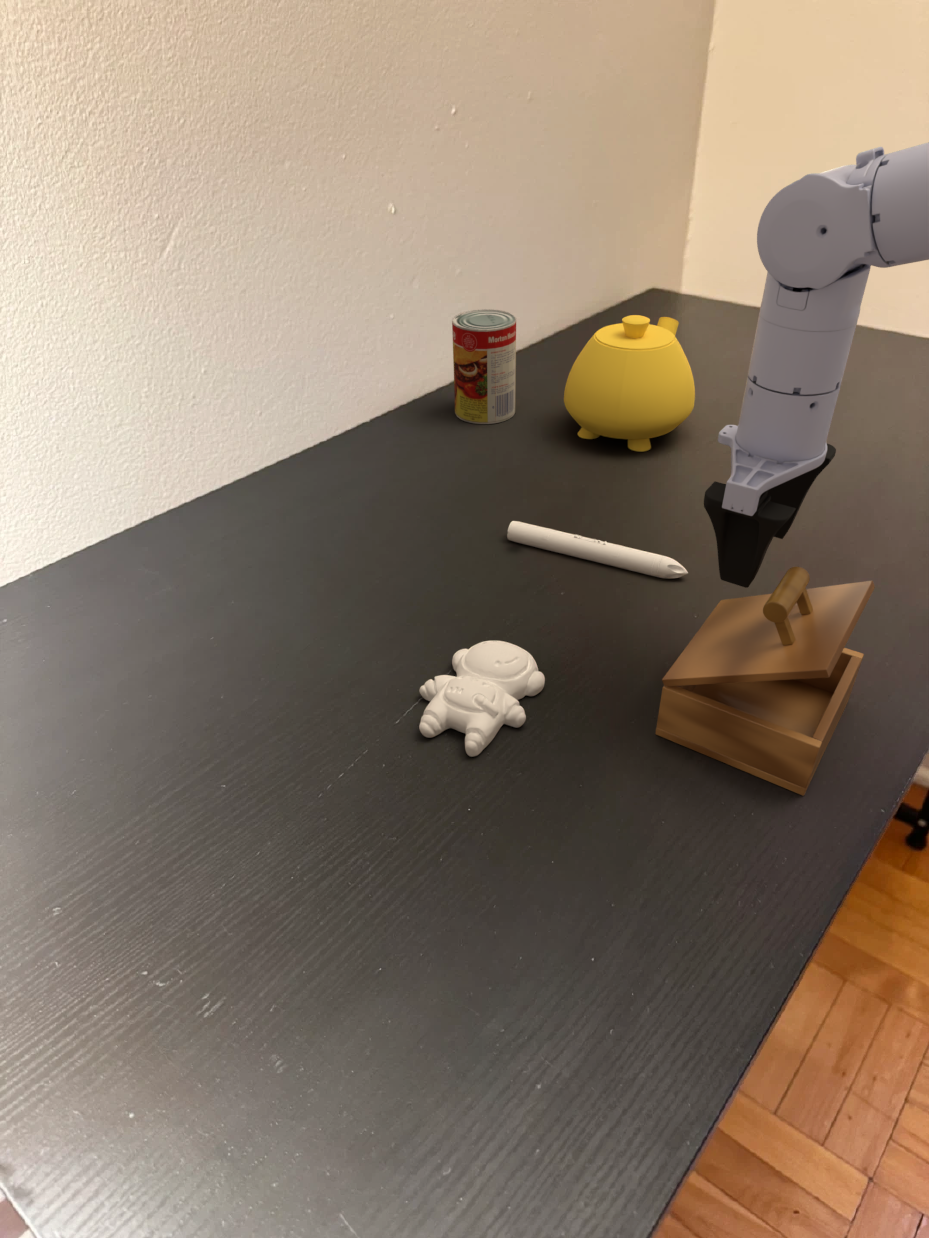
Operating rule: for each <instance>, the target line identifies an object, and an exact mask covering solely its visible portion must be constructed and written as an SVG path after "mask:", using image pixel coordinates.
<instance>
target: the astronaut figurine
mask: <svg viewBox="0 0 929 1238" xmlns="http://www.w3.org/2000/svg"><path fill="white" fill-rule="evenodd" d="M451 664H452V669H453V671H454V672H455V673H456V675H455V676H454V675H450V674H449V675H448V674H440V675H435V676H434V680H433V679H432V678H430V679H427V680H426V681H425V682H424V684H423V685H421V686H420V687H419V689H418V690H419V694H420V696H421V697H422V699H424V700H425V701H428V702H429V703H428V704H427V705H426V707H425V709H424V711H423V713H422V715H421V718H420V722H419V725H418V727H419V731H420V733H421V735H422V736H423V737H425V738H434V737H436V736H438V735H440V734H442V733H444V731H446V730H448V729H452V730H455V731H457V732H460V733H463V734H465V736H464V750H465V753H466V754H467V756H469V757H471V758H472V757H477V756H479V755H480V754H481V753H482V752H483V750H485V748H487V747H488V746H489V745H490V744H491V742H492V741H493V740H494V738H495V737H496V736H497V734H498V733H499V731H500V730H501V728H502V726H503V725H506V726H509V727H513V728H517V729H518V728H521V727H522V726H523V725H525V723H526V721H527V715H526V712H525V709H524V708H523V706H521V705H520V701H519V700H521V699H523V698H524V697H525V696H528V697H534V696H536V695H538V694H539V693H541V692H542V691H543V689H544V687H545V684H546V677H545V675H544V673H543V672H542V671H539V668H538V667H539V666H538V665H537V662H536V660H535V658H534V657H533V655H532V654H531V653H530V652H529V651H527V650H526V649H524V648H523V647H520V646H518V645H516V644H513V643H511V642H509V641H508V642H507V641H503V640H485V641H480V642H478V643H476V644H474V645H472V646H470V648H461V649H459V650H457V651H456V652H455V653H454V654H453V656H452V659H451Z"/></svg>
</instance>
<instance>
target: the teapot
mask: <svg viewBox="0 0 929 1238" xmlns="http://www.w3.org/2000/svg"><path fill="white" fill-rule="evenodd" d="M621 321H622V322H621V323H614V324H609V325H605V326H603V327H601V328H599V329H598V330H596V332H595V333H594V334H593V335H592V336H591V337H590V339H589V340H588V341H587V343H585V345H584V346H583V348H582V349H581V351H580V352H579V354H578V355H577V357H576V359H575V361H574V362H573V364H572V366H571V368H570V370H569V373H568V376H567V379H566V382H565V386H564V392H563V394H564V395H563V403H564V407H565V409H566V411H567V412H568V414H569V415H570V416H571V417H572V419H573V420H574V421H575V422H576V423H577V424H578V425H579V426H580V429H579V431H577V436H578V437H579V438H581V439H584V440H585V439H586V440H593V439H594V440H595V439H597V438H599V437H600V436H602V437H605V438H610V439H618V440H627V448H628V449H629V450H631V451H634V452H647V451H649V450H651V449H652V444H651V439H653V438H657V437H661V436H664V435H666V434H669V433H670V432H672V431H674V430H675V429H676V428H677V427H678V426H680V425H681V424H682V423H684V422H685V421H686V420H687V418H689V417H690V416H691V414H692V412H693V410H694V407H695V402H696V401H695V400H696V388H695V379H694V374H693V371H692V368H691V365H690V363H689V359H688V357H687V356H686V353H685V352H684V349H683V347H682V345H681V343H680V342H679V340H678V339H677V336H676V334H677V331H678V327H679V324H680V322H679V321H678V320H677V319H675V318H673V317H669V316H661V317H659V318H658V321H657V324H656V325H655V324H651V323H650V322H651V319H650V318H649V317H647V316H644V315H639V314H632V315H626V316H624V317H623V318H622V319H621Z"/></svg>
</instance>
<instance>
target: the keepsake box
mask: <svg viewBox="0 0 929 1238" xmlns="http://www.w3.org/2000/svg"><path fill="white" fill-rule="evenodd" d="M864 656H865V654H864V653H862V652H859V651H856V650H853V649H850V648H847V647H844V649H843V651H842V653H841V655H840V657H839V659H838V661H837V663H836V665H835V667H834V669H833V671H832V673H831V675H830V677H828V678H810V679H792V680H773V681H755V682H737V683H719V684H700V685H682V686H664V685H663V686H662V688H661V689H662V690H661V696H660V700H659V701H660V702H659V709H658V715H657V721H656V727H655V733H654V734H655V735H656V736H658V737H661V738H663V739H666V740H668V741H671V742H673V743H675V744H678V745H681V746H683V747H685V748H687V749H689V750H692V751H695V752H697V753H699V754H701V755H704V756H705V757H706V756H707V757H709V758H711V759H714V760H716V761H719V762H721V763H724V764H725V765H728V766H731V767H733V768H736V769H738V770H740V771H742V772H745V773H748V774H750V775H751V776H755V777H757V778H759V779H762V780H764V781H766V782H769V783H771V784H774V785H776V786H778V787H781V788H783V789H785V790H788V791H791V792H792V793H795V794H798V795H800V796H802V797H804V796H805V795H806V793H807V790H808V788H809V786H810V784H811V782H812V780H813V777H814V775H815V773H816V771H817V769H818V767H819V764H820V762H821V760H822V759H823V756H824V755H825V752H826V750H827V747H828V746H829V744H830V741H831V740H832V737H833V735H834V732H835V730H836V728H837V726H838V724H839V722H840V720H841V718H842V715H843V714H844V711H845V709H846V707H847V705H848V703H849V700H850V697H851V694H852V691H853V688H854V686H855V682H856V679H857V677H858V674H859V671H860V668H861V665H862V661H863V659H864Z"/></svg>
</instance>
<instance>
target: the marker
mask: <svg viewBox="0 0 929 1238" xmlns="http://www.w3.org/2000/svg"><path fill="white" fill-rule="evenodd" d="M506 537H507V540H508V541H510V542H513V543H518V544H522V545H525V546H530V547H535V548H538V549H542V550H546V551H551V552H552V553H553V552H554V553H559V554H561V555H562V554H563V555H565V556H571V557H574V558H578V559H582V560H587V561H590V562H595V563H599V564H601V565H602V564H603V565H606V566H611V567H614V568H619V569H622V570H627V571H630V572H631V571H632V572H635V573H639V574H643V575H647V576H651V577H656V578H660V579H678V578H681V577H684V576H686V575H688V574H689V572H688V570H687V569H686V568H685V567H684V566H683V564H681V563H679V562H678V561H677V560H676V559H674V558H671V557H669V556H666V555H663V554H658V553H655V552H649V551H644V550H641V549H638V548H632V547H630V546H629V547H628V546H626V545H625V546H624V545H621V544H616V543H612V542H607V540H605V541H603V540H600V539H596V538H591V537H586V536H583V535H579V534H576V533H575V534H574V533H570V532H564V531H560V530H557V529H554V528H549V527H544V526H541V525H540V526H539V525H535V524H531V523H527V522H522V521H519V520H512V521H511V522H510V523H509V525H508V528H507V533H506Z"/></svg>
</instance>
